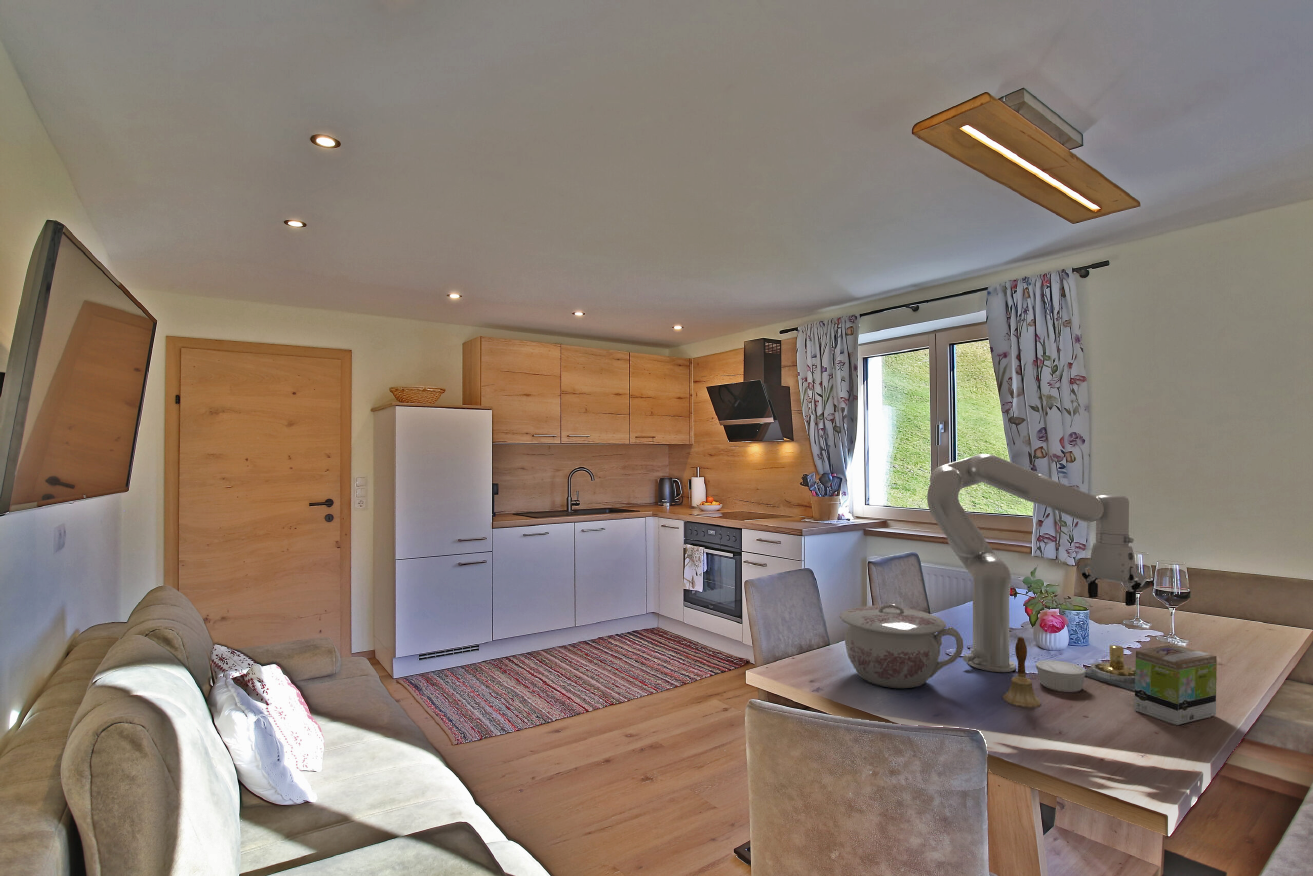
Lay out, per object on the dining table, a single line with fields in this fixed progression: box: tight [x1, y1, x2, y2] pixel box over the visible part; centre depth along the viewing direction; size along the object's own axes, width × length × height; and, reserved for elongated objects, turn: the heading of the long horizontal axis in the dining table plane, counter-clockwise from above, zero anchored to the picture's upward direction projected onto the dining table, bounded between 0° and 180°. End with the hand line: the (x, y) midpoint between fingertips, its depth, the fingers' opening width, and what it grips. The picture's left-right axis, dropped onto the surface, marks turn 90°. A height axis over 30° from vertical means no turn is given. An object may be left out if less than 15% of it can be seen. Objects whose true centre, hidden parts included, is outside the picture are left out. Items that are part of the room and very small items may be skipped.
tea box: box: [1133, 643, 1218, 726], centre depth 157 cm, size 15×10×15 cm, turn 114°
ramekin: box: [1035, 659, 1086, 693], centre depth 175 cm, size 11×11×5 cm
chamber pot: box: [839, 603, 964, 690], centre depth 179 cm, size 28×28×21 cm
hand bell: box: [1002, 636, 1042, 709], centre depth 165 cm, size 8×8×16 cm
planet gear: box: [1099, 644, 1135, 676], centre depth 181 cm, size 8×8×7 cm
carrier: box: [1084, 661, 1135, 692], centre depth 178 cm, size 12×17×5 cm
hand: (1111, 601), depth 182 cm, fingers open, 9 cm apart
